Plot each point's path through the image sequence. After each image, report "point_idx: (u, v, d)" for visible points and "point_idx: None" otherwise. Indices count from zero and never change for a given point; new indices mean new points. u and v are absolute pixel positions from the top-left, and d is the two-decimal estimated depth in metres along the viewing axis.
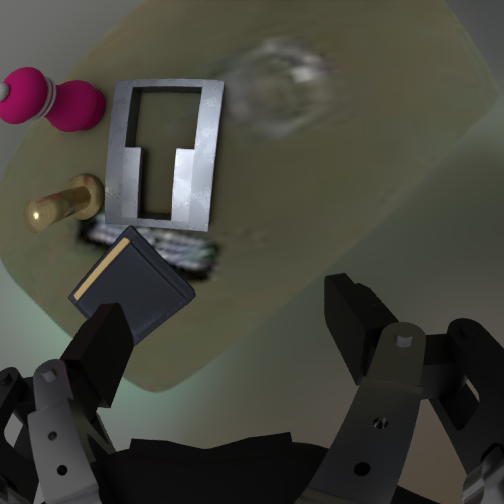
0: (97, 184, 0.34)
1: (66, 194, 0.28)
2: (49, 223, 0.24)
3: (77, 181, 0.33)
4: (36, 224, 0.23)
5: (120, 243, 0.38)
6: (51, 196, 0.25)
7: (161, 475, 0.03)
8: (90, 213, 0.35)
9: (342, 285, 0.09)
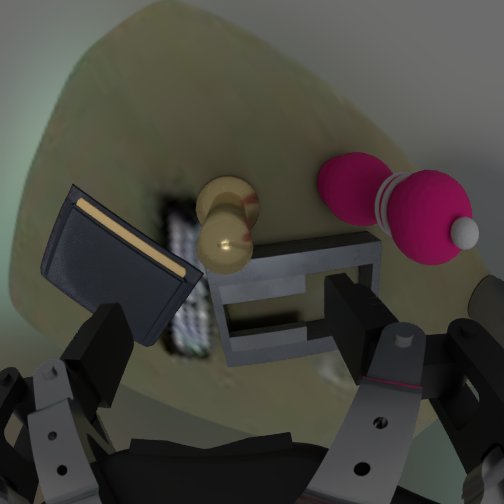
0: (249, 229, 0.29)
1: None
2: None
3: (249, 197, 0.28)
4: (213, 259, 0.17)
5: (176, 266, 0.31)
6: None
7: (161, 475, 0.03)
8: None
9: (342, 285, 0.09)
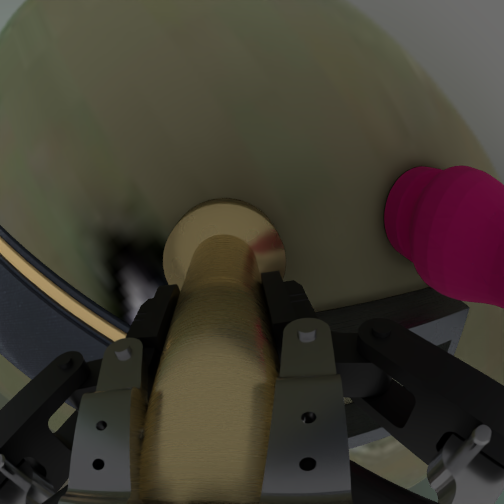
0: None
1: None
2: None
3: (267, 246, 0.14)
4: None
5: None
6: None
7: None
8: None
9: (270, 282, 0.10)
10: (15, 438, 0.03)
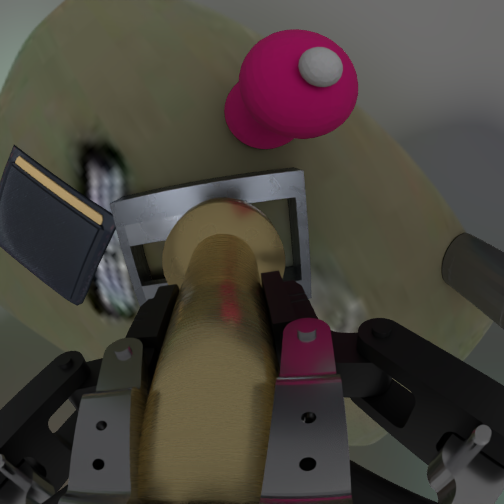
0: None
1: None
2: None
3: (266, 245, 0.14)
4: None
5: (94, 213, 0.28)
6: None
7: None
8: None
9: (270, 281, 0.10)
10: (15, 438, 0.03)
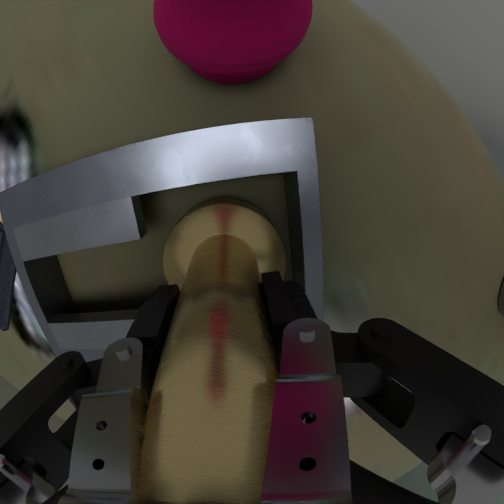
0: None
1: None
2: None
3: (267, 246, 0.14)
4: None
5: None
6: None
7: None
8: None
9: (270, 282, 0.10)
10: (15, 438, 0.03)
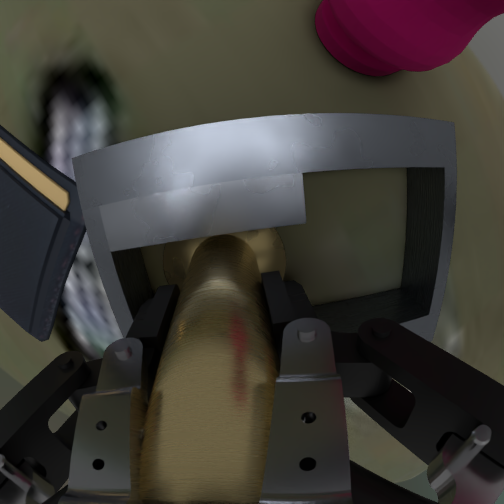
0: None
1: None
2: None
3: (267, 246, 0.14)
4: None
5: (54, 188, 0.13)
6: None
7: None
8: None
9: (270, 282, 0.10)
10: (15, 438, 0.03)
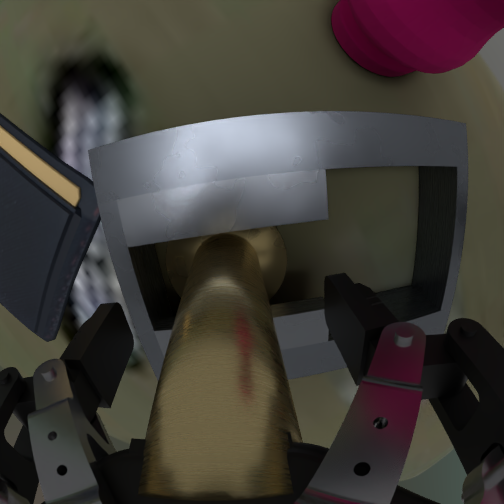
0: None
1: None
2: None
3: (269, 245, 0.14)
4: None
5: (64, 183, 0.13)
6: None
7: None
8: None
9: (342, 285, 0.09)
10: None
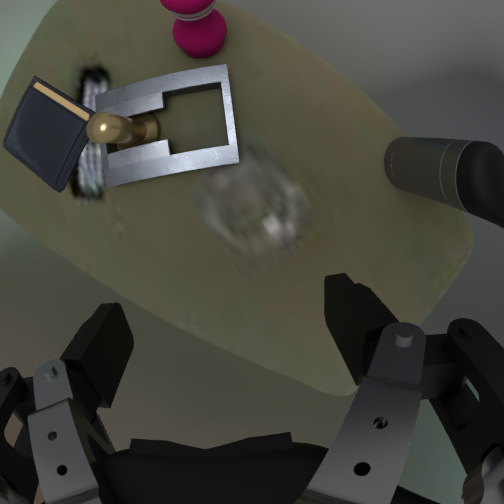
0: None
1: (132, 134, 0.30)
2: None
3: (150, 123, 0.34)
4: (94, 134, 0.23)
5: (84, 113, 0.33)
6: (125, 129, 0.27)
7: (161, 475, 0.03)
8: (123, 145, 0.35)
9: (342, 285, 0.09)
10: None
